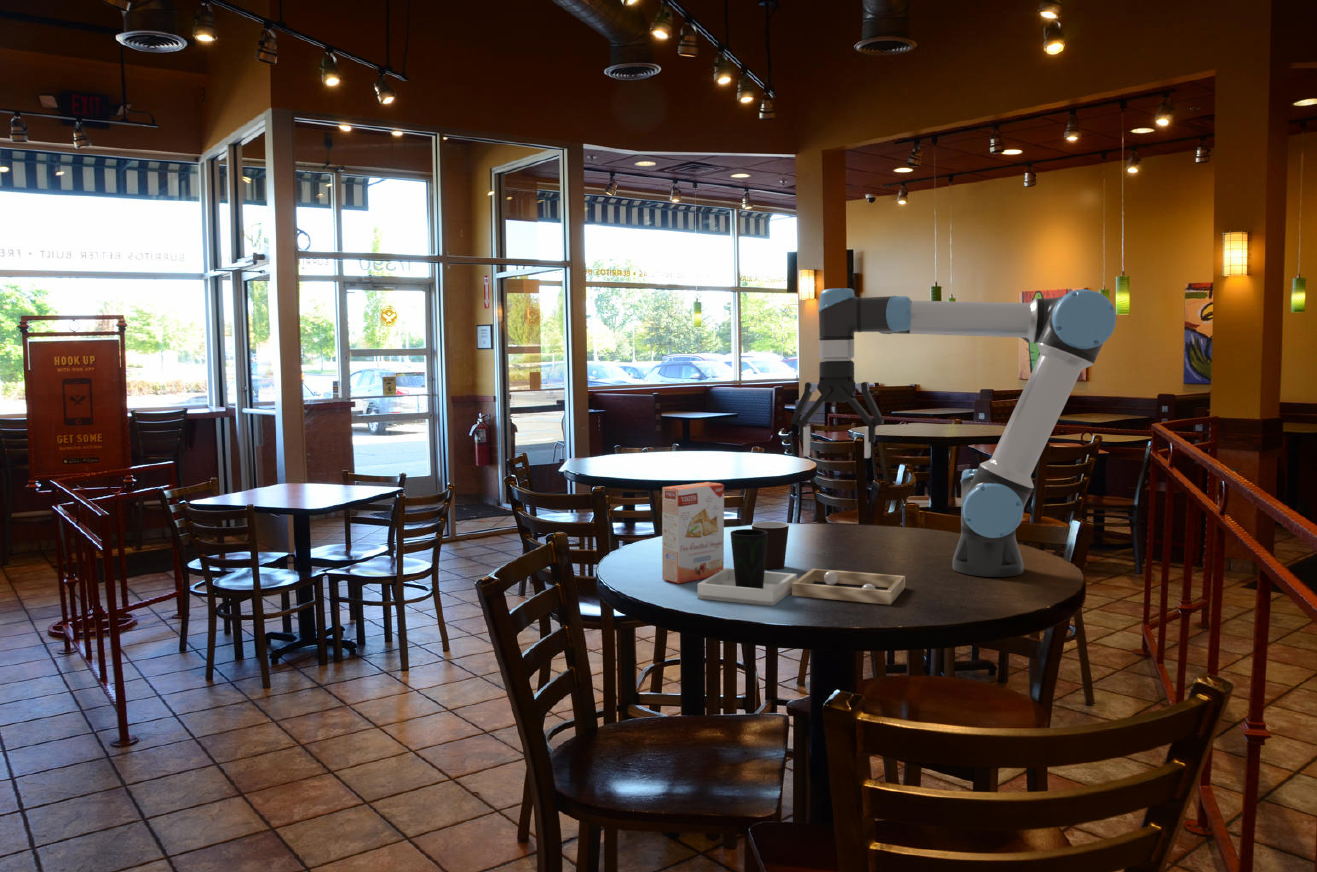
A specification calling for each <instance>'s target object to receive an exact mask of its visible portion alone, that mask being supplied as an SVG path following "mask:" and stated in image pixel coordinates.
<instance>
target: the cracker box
mask: <svg viewBox="0 0 1317 872" xmlns="http://www.w3.org/2000/svg"><path fill="white" fill-rule="evenodd" d="M661 498H662V499H661V500H662V501H661V504H662V508H661V510H662V512H661V513H662V514H661V519H662V520H661V521H662V522H661V523H662V525H661V526H662V528H661V529H662V530H661V531H662V532H661V533H662V535H661V536H662V537H661V539H662V540H661V541H662V545H661V546H662V555H661V557H662V559H661V560H662V580H663V581H667V582H670V583H674V584H683V583H688V582H689V583H690V582H693V581H697V580H705V579H707V578H709V577H711V576H713V575H714V574H716V573H718V572H720V571H722V570H723V569H725V568H724V565H725V564H724V563H725V561H724V559H725V557H724V555H725V554H724V553H725V551H724V550H725V549H724V545H725V544H724V543H725V539H724V538H725V537H724V536H725V531H724V530H725V485H724V484H722V483H719V482H710V481H705V482H696V483H690V484H681V485H678V484H677V485H671V486H662V490H661Z"/></svg>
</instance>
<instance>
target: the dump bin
mask: <svg viewBox="0 0 1317 872" xmlns="http://www.w3.org/2000/svg"><path fill="white" fill-rule="evenodd" d="M797 577H798V575H797V573H789V572H778V571H777V572H776V571H767V570H765V572H764V583H763V589H760V588H749V587H738V586H736V583H735V573H734V568H730V567H725V568H724V569H723V570H722V571H720V572H718V573H716V574H714V575H713V576H711V577H709V578H705V579H703V580H702V581H701V582H698V583H697V599H698V600H708V601H710V600H711V601H717V602H718V601H720V602H729V603H730V602H731V603H739V604H748V605H758V606H759V605H760V606H768V607H769V606H771V607H774V606H775V605H777V604H778V603H779V602H780V601H782V600H783V599H784V598H786V596H788V595H790V594H792V583H793V582H795V581H796V580H797V579H798V578H797Z"/></svg>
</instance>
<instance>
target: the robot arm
mask: <svg viewBox="0 0 1317 872" xmlns="http://www.w3.org/2000/svg"><path fill="white" fill-rule="evenodd" d="M818 319H819V320H818V327H819V328H818V330H819V334H818V335H819V341H818V344H819V345H818V347H819V348H818V350H819V351H818V355H819V356H818V358H819V359H821V361H820V362H819V369H818V370H819V371H818V373H819V375H818V376H819V378H818V379H819V380H818V383H816V382H815V383H814V382H811V381H809V382H805V384H804V390H803V394H802V396H801V398H800V400H799V402H798V404H797V407H796V409H795V411H794V413H793V414H792V416H791V419H790V423H791V424H794V425H796V426H798V434H799V435H798V439H799V441H800V442H803V445H802V446H803V448H802V449H803V451H802V453H803V457H808V456H810V455H811V426H810V425H809V426H807V425H808V424H809V422H810V421H811V420H812V419H813V418H814V416H815V415H816V414H817V413H818V412H819V411H820V409H821V408H822V407H823V405H825V403H827V402H828V403H830V404H831V403H832V404H833V403H839V404H840V403H842V404H843V403H846V402H847V404H848V405H850V407H851V408H852V409H853V410H854V411H855V412H856V414H857V415H858V416H859V417H860V418H861V420H862V421H863V422H864V423H865V425H866V426H867V427H864V431H863V432H864V435H863V436H864V444H863V446H864V450H863V451H864V453H863V454H864V455H863V456H864V457H863V458H864V459H870V458H871V456H872V455H871V453H872V448H871V447H872V445H871V443H875V441H876V428H877V427H879V426H880V425H884V423H885V420H884V418H883V416H882V414H881V412H880V410H879V407H878V405H877V403H876V401H875V399H874V398H873V396H872V393H871V392H870V383H869V381H863V382H859V383H858V382H857V383H856V382H855V362H854V361H853V360H852V359H854V358H855V333H879V334H883V335H892V334H899V335H900V334H903V335H934V336H937V335H939V336H940V335H941V336H964V337H965V336H966V337H991V338H993V337H997V338H999V337H1000V338H1023V339H1024V338H1026V339H1027V340H1028V341H1030V343H1033V344H1036V345H1037V348H1038V350H1039V351H1038V352H1039V356H1038V358H1037V360H1036V362H1035V364H1034V367H1033V369H1032V372H1031V373H1030V375H1029V378H1028V380H1027V381H1026V384H1025V386H1024V388H1023V390H1022V392H1021V394H1020V396H1019V398H1018V401H1017V403H1016V404H1015V407H1014V409H1013V411H1012V413H1011V415H1010V418H1009V420H1008V422H1007V424H1006V426H1005V428H1004V431H1003V433H1002V435H1001V436H1000V439H999V441H998V443H997V445H996V447H995V449H994V451H993V453H992V456H991V457H990V459H988V460H986V461H984V462H981V463H979V466H978V468H969V469H968V468H967V469H964V470H963V471H962V473H961V479H960V485H961V488H960V489H961V495H960V496H961V497H960V500H961V501H960V502H961V503H960V505H961V507H960V508H961V509H960V511H961V512H960V514H961V515H960V525H961V526H960V538H959V540H958V543H957V545H956V549H955V551H954V554H953V557H952V570H954V571H955V572H957V573H959V574H965V575H968V576H974V577H975V576H976V577H987V578H988V577H989V578H1005V577H1015V576H1019V575H1021V574H1023V573H1024V560H1023V558H1022V555H1021V552H1020V548H1019V545H1018V542H1017V539H1016V538H1017V537H1016V529H1017V528H1018V527H1019V526H1020V525H1021V523H1022V520H1023V516H1024V510H1025V506H1026V505H1027V502H1028V500H1029V499H1030V496H1031V493H1032V492H1033V490H1034V488H1035V486H1034V483H1033V479H1032V474H1033V472H1034V470H1035V467H1036V465H1037V464H1038V462H1039V460H1040V457H1041V455H1042V453H1043V451H1044V449H1045V447H1046V446H1047V445H1046V444H1047V443H1048V440H1049V439H1050V436H1051V435H1052V432H1053V431H1054V429H1055V426H1056V424H1057V423H1058V420H1059V418H1060V416H1061V414H1062V412H1063V410H1064V408H1065V405H1066V404H1067V401H1068V399H1069V397H1070V395H1071V393H1072V391H1073V389H1074V387H1075V385H1076V383H1077V381H1078V378H1079V377H1080V374H1081V372H1082V371H1083V370H1084V369H1087V368H1089V367H1092V366H1093V365H1094V363H1095V362H1096V360H1097V357H1098V355H1099V354H1100V351H1101V350H1102V347H1103V346H1104V345H1105V344H1104V343H1105V342H1107V340H1109V338H1110V337H1112V335H1113V333H1114V330H1115V328H1116V323H1117V313H1116V310H1115V307H1114V305H1113V303H1112V302H1111V301H1110V300H1109V299H1108V297H1106V296H1105V295H1104V294H1103V293H1101V292H1099V291H1095V290H1090V289H1087V288H1086V289H1084V288H1083V289H1075V290H1072V291H1069V292H1067V293H1066V294H1064V295H1063V296H1062V295H1061V296H1058V297H1051V298H1034V299H1032V300H1031V301H1030V302H995V301H994V302H991V301H990V302H989V301H987V302H986V301H953V300H952V301H949V300H947V301H945V300H944V301H942V300H911V298H910V297H909V296H908V295H907V296H905V295H904V296H901V295H900V296H899V295H891V296H887V295H886V296H873V297H870V296H869V297H862V296H861V297H859V296H856V295H855V290H854V289H852V288H847V287H845V288H841V287H840V288H827V289H823V290H822V291H821V292H820V294H819V309H818ZM817 390H818V392H819V393H820V395H819V397H818V398H817V399H816V401H815V402H814V404H813V405H812V406H811V407H810V408H809V409H808V411H807V412H806V413H805V414H804V412H805V409H806V408H807V406H808V403H809V401H810V399H811V397H812V396H813V395H812V394H813V393H815V392H816V391H817ZM856 390H857V391H858V392H859V393H860V394H861V393H862V397H863V399H864V401H865V403H866V405H867V407H868V409H869V411H870V413H871V415H872V417H873V418H872V417H871V415H869V413H868V412H867V410H865V409H864V407H863V406H862V405H861V404H860V402H859V401H858V400H857V398H856V397H855V396H854V394H853V393H855V392H856ZM803 414H804V415H803ZM802 416H803V417H802ZM873 419H874V420H873Z"/></svg>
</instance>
